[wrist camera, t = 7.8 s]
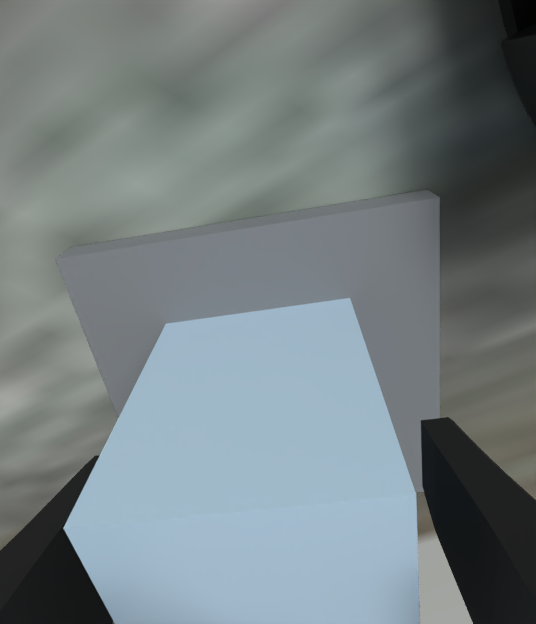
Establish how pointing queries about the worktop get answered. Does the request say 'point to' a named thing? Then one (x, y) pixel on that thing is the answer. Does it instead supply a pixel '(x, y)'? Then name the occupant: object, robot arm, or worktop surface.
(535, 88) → the end cap
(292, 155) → the worktop surface
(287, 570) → the pale blue cube
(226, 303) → the board
